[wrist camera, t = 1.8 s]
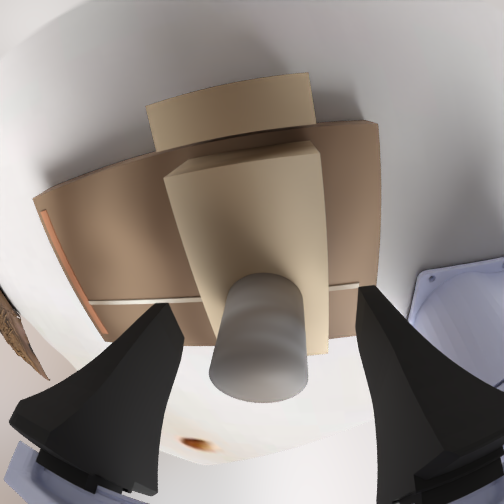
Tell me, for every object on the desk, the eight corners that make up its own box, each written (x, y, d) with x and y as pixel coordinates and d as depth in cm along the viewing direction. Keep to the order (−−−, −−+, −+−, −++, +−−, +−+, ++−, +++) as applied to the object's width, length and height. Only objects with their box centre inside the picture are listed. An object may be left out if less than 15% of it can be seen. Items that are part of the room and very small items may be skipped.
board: (364, 120, 11) (378, 123, 10) (363, 312, 17) (369, 334, 15) (51, 187, 15) (31, 198, 13) (115, 324, 20) (104, 342, 19)
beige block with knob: (297, 82, 10) (330, 51, 3) (319, 295, 16) (334, 420, 9) (175, 105, 11) (54, 128, 4) (226, 302, 17) (198, 422, 10)
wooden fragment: (-44, 228, 18) (-49, 232, 17) (-9, 235, 18) (-15, 240, 17) (23, 364, 32) (20, 368, 31) (68, 386, 31) (65, 391, 30)
